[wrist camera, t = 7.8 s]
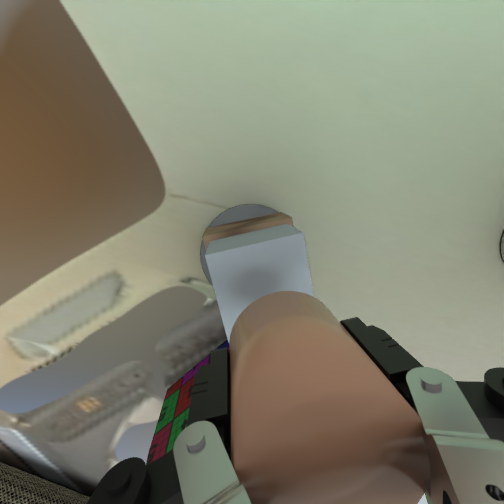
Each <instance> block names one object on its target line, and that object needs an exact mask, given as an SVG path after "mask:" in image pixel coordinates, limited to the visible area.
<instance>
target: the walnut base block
mask: <svg viewBox="0 0 504 504" xmlns="http://www.w3.org/2000/svg"><path fill="white" fill-rule="evenodd" d="M283 224H289V225H291V226H293V221H292V217H290V216H288V215H286V214H284V213H281V212H279V213H275V214H270V215H265V216H261V217H256V218H251V219H247V220H242V221H237V222H233V223H228V224H224V225H219V226H214V227H210V228H207V229H206V231H205V233H204V235H203V241H204V245H205V249H206V251H207V248H208V245H209V241H213V240H217V239H221V238H226V237H230V236H234V235H239V234H243V233H248V232H252V231H256V230H261V229H265V228H269V227H274V226H278V225H283Z"/></svg>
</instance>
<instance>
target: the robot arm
mask: <svg viewBox="0 0 504 504" xmlns="http://www.w3.org/2000/svg"><path fill="white" fill-rule="evenodd" d="M501 254H502V258H503V260H504V235H503V237H502V242H501ZM340 323H341V324H342V326H343V327H344V328H345V329H346V330H347V331H348V333H349V334H350V335H351V336H352V337H353V339H354V340H355V341H356V342H357V343H358V344H359V346H360V347H361V348H362V349H363V350H364V352H365V353H366V354H367V355H368V356H369V357H370V359H371V360H372V361H373V362H374V363H375V365H376V366H377V367H378V368H379V369H380V370H381V372H382V373H383V374H384V375H385V376H386V378H387V379H388V380H389V381H390V382H391V383H392V385H393V386H394V387H395V388H396V389H397V391H398V392H399V393H400V394H401V395H402V396H403V398H404V399H405V400H406V401H407V402H408V404H409V405H410V406H411V407H412V408H413V409H414V411H415V412H416V413H417V414H418V415H419V417H420V418H421V419H422V437H423V439H424V442H425V445H426V448H427V452H428V456H429V462H430V477H431V479H427V480H424V487H425V495H426V499H427V502H428V504H504V368H492V369H490V370H488V371H486V373H485V375H484V382H463V381H454V379H453V378H452V377H450V376H449V375H448V374H446V373H444V372H442V371H440V370H437V369H434V368H429V367H424V366H422V365H421V364H420V363H419V362H418V361H417V360H416V359H415V358H414V357H412V356H411V355H410V354H409V353H408V352H407V351H406V350H405V349H404V348H403V347H401V346H400V345H399V344H398V343H397V342H396V341H395V340H394V339H392V337H390V336H389V335H388V334H387V333H386V332H385V331H384V330H382V329H379V328H377V327H375V326H373V325H372V326H366V325H365V324H364V323H363V322H362V321H361V320H360V319H359V318H358V317H355V318H351V319H346V320H342V321H340ZM193 385H194V387H193V390H192V396H191V402H190V408H189V414H188V420H187V426H186V428H185V429H184V430H183V431H182V432H181V433H180V434H179V436H178V437H177V439H176V441H175V444H174V448H173V449H172V450H171V451H170V452H168V453H167V454H165V455H164V456H162V457H160V458H158V459H157V460H155V461H153V462H151V463H150V464H148V465H145V462H144V461H143V460H142V459H140V458H137V457H133V458H128V459H125V460H123V461H121V462H119V463H118V464H116V465H115V466H114V467H112V468H111V469H110V470H109V471H108V472H107V473H106V474H105V476H104V477H103V478H102V479H101V481H100V482H99V484H98V486H97V487H96V489H95V491H94V492H93V494H92V496H91V497H90V499H89V501H88V502H87V504H251V502H250V499H249V497H248V495H247V493H246V490H245V488H244V486H243V484H242V483H241V482H239V480H238V478H237V475H236V473H235V471H234V468H233V466H232V464H231V419H230V357H229V349H228V347H226V348H222V349H218V350H213V351H211V357H210V364H206V365H202V366H201V367H200V368H199V370H198V371H197V373H196V374H195V378H194V384H193Z"/></svg>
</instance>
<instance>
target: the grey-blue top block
mask: <svg viewBox="0 0 504 504" xmlns="http://www.w3.org/2000/svg"><path fill="white" fill-rule="evenodd" d="M205 258H206V261H207V265H208V269H209V273H210V276H211V280H212V284H213V287H214V291H215V295H216V298H217V302H218V306H219V310H220V313H221V317H222V321H223V324H224V328H225V332H226V335H227V339H228V343H229V340H230V334H231V330H232V328H233V325H234V323H235V321H236V319H237V318H238V316H239V315H240V314H241V312H242V311H243V310H244V309H245V308H246V307H247V306H248V305H250V304H251V303H252V302H254V301H255V300H257V299H259V298H260V297H263V296H265V295H267V294H271V293H274V292H280V291H297V292H302V293H305V294H308V295H311V296H313V297H314V294H313V288H312V282H311V275H310V269H309V263H308V257H307V251H306V245H305V239H304V233H303V232H301V231H300V230H298V229H296V228H294V227H293V226H291V225H289V224H283V225H278V226H274V227H269V228H265V229H261V230H256V231H252V232H248V233H243V234H239V235H234V236H230V237H226V238H221V239H217V240H213V241H209V245H208V248H207V251H206V254H205Z"/></svg>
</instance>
